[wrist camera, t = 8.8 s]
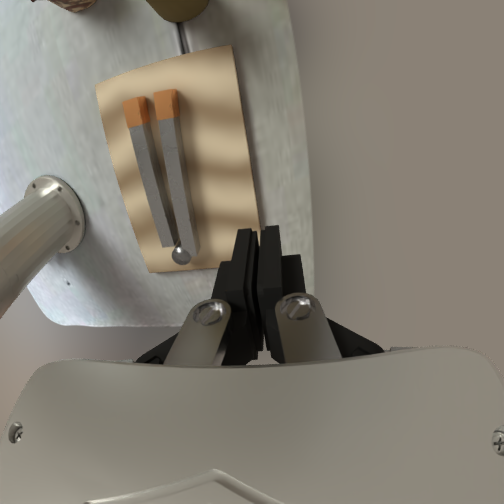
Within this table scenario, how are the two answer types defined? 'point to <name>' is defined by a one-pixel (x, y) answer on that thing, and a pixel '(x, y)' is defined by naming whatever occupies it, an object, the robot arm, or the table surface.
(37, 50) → the table surface
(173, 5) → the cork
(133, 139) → the arm
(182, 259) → the tongs arm
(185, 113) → the board
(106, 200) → the table surface
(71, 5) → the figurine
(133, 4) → the table surface
